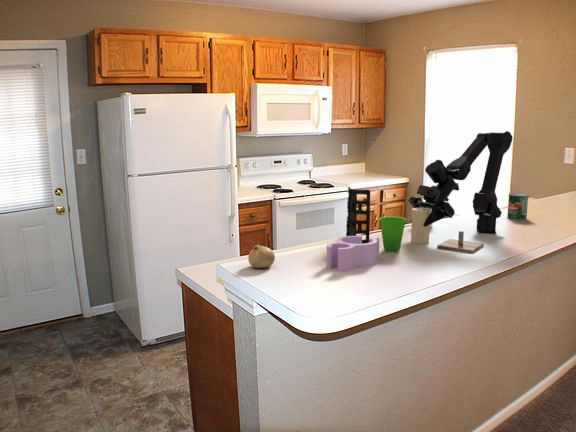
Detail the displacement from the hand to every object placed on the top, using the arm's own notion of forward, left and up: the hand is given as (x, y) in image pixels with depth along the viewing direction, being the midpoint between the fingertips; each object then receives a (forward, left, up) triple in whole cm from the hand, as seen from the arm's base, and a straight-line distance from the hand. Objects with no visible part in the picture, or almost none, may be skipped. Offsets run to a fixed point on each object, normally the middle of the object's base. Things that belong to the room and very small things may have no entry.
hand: (417, 224), depth 183 cm
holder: (+21, +8, -7) cm, 23 cm away
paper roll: (-1, -1, -7) cm, 7 cm away
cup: (+8, +15, -7) cm, 18 cm away
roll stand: (-15, +4, -7) cm, 17 cm away
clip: (+18, +33, -7) cm, 38 cm away
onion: (+44, +45, -7) cm, 63 cm away
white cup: (-1, -30, -7) cm, 31 cm away
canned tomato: (-40, -57, -7) cm, 70 cm away
